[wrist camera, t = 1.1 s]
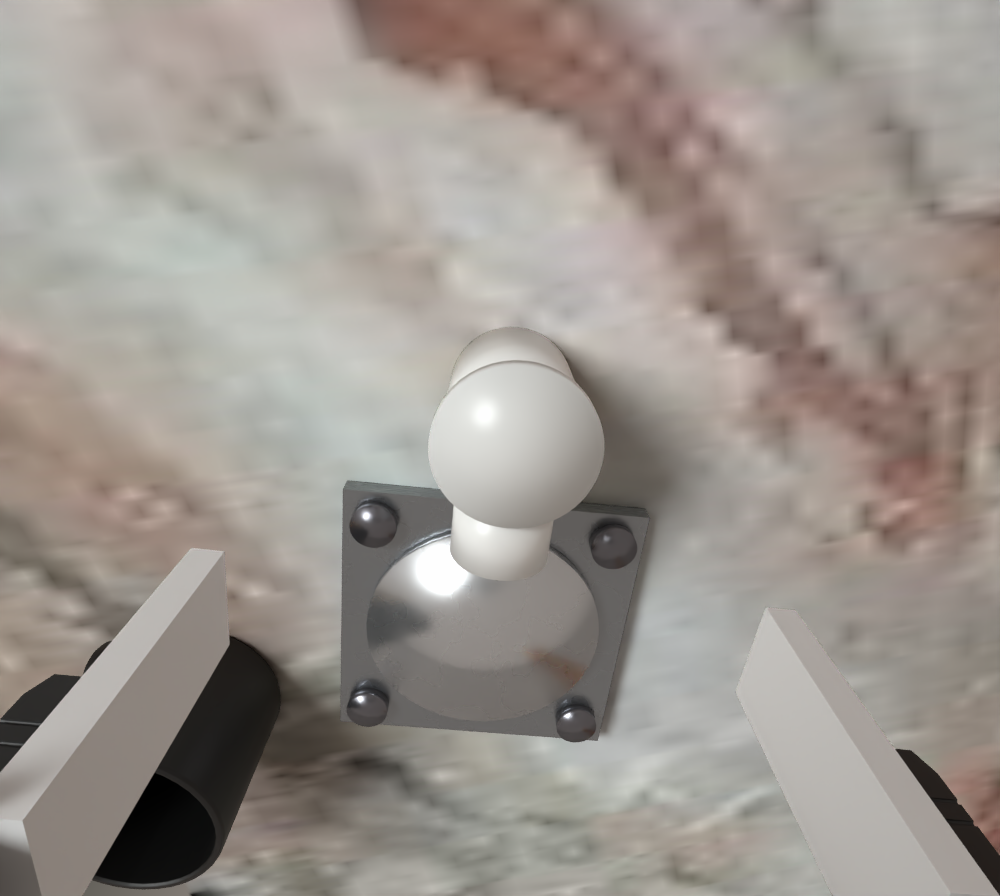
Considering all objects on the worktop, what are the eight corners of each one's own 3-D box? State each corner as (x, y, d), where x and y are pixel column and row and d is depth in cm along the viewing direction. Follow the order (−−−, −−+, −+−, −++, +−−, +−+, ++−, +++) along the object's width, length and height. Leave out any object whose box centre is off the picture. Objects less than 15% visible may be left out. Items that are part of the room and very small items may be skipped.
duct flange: (347, 480, 32) (339, 495, 31) (645, 508, 33) (652, 524, 31) (344, 708, 38) (337, 730, 37) (595, 727, 39) (599, 750, 38)
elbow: (450, 313, 29) (434, 356, 21) (587, 328, 29) (619, 376, 22) (436, 488, 32) (418, 577, 25) (559, 500, 33) (578, 591, 25)
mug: (222, 573, 34) (134, 696, 26) (307, 725, 39) (256, 870, 31) (73, 613, 35) (-57, 743, 27) (173, 756, 40) (89, 905, 32)
